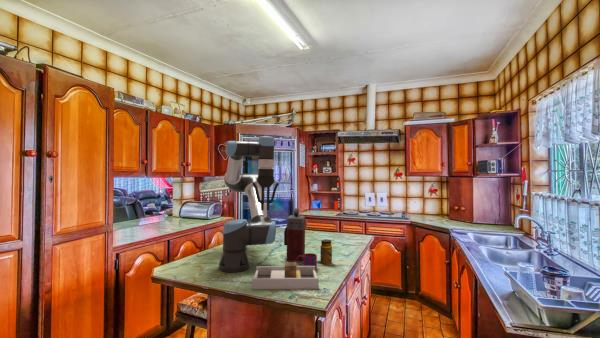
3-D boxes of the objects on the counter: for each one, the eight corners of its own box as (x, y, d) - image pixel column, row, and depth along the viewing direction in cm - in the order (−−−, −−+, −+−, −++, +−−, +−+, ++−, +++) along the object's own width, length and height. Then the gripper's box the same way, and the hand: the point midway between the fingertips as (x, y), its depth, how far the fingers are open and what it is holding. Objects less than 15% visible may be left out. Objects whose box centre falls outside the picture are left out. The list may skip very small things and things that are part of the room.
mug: (315, 271, 133) (315, 257, 133) (295, 269, 136) (295, 255, 136) (317, 267, 140) (318, 253, 140) (298, 265, 142) (299, 252, 142)
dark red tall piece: (285, 255, 159) (285, 206, 159) (304, 256, 157) (305, 207, 158) (282, 260, 150) (282, 208, 150) (302, 261, 148) (303, 209, 149)
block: (284, 277, 118) (284, 265, 118) (284, 273, 123) (284, 262, 123) (296, 277, 119) (296, 265, 119) (295, 273, 124) (296, 262, 124)
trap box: (252, 289, 112) (252, 279, 112) (256, 274, 128) (256, 266, 128) (318, 288, 113) (318, 278, 114) (314, 274, 129) (314, 265, 129)
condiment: (334, 264, 144) (334, 241, 144) (318, 266, 142) (319, 242, 142) (329, 260, 151) (329, 238, 151) (314, 261, 149) (315, 239, 149)
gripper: (251, 168, 130) (250, 218, 130) (279, 168, 131) (278, 218, 131) (253, 168, 137) (252, 215, 137) (279, 168, 138) (278, 215, 138)
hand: (265, 217), depth 134 cm, fingers closed
